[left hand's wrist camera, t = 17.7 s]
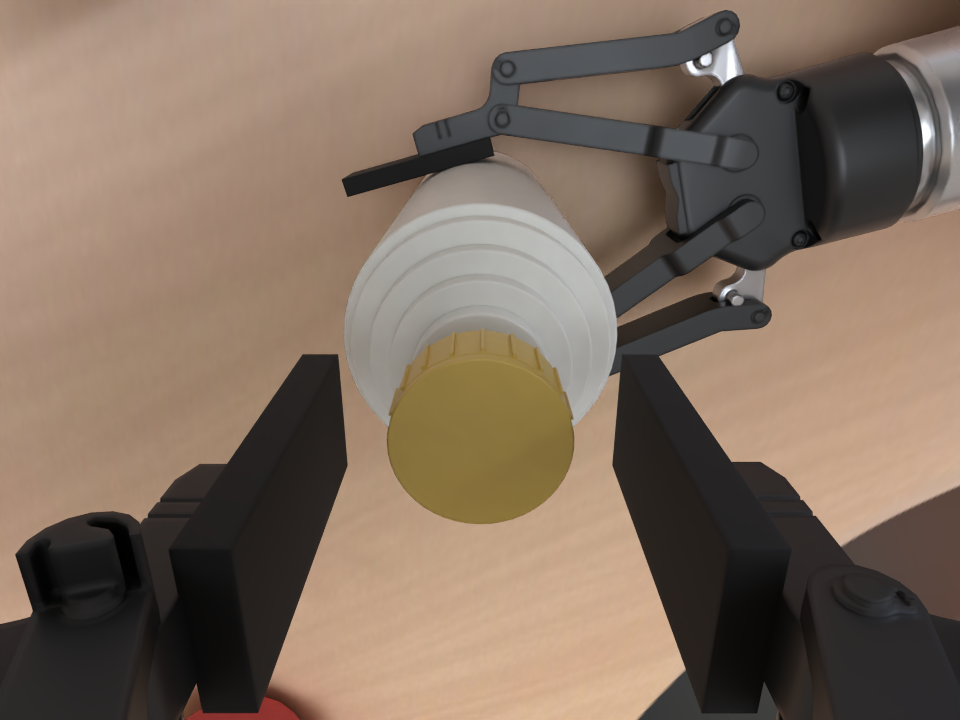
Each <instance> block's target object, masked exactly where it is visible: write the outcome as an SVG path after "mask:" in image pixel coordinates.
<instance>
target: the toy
mask: <svg viewBox="0 0 960 720" xmlns="http://www.w3.org/2000/svg"><path fill="white" fill-rule="evenodd" d="M185 720H300V719H299V718H298V717H297V716H296V715H295V713H294V712H293V711H292V710H290V709H289V708H287V707H286V706H285V705H283V704H282V703H281V702H279V701H276V700H273V699H270V698H266V697H264V699H263V701H262V704H261V707H260V710H259V712H258V713H203V711H202V709H201V710H199V711H197V712H196V713H194V714H192V715H191V716H189V717H188V718H187V719H185Z"/></svg>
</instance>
